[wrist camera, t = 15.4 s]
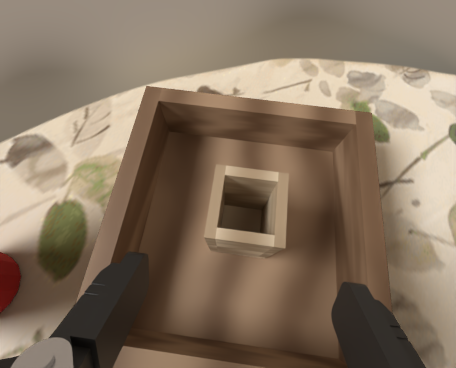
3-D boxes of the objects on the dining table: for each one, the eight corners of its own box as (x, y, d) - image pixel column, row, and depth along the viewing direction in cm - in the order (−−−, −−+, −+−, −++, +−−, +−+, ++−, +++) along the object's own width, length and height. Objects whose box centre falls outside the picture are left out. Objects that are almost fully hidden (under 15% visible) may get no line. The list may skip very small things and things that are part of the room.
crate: (101, 341, 20) (55, 365, 15) (161, 124, 28) (146, 86, 23) (352, 379, 20) (403, 419, 14) (341, 146, 28) (371, 112, 22)
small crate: (210, 251, 22) (203, 237, 15) (218, 199, 24) (216, 164, 17) (264, 258, 22) (285, 248, 15) (268, 206, 24) (288, 173, 16)
